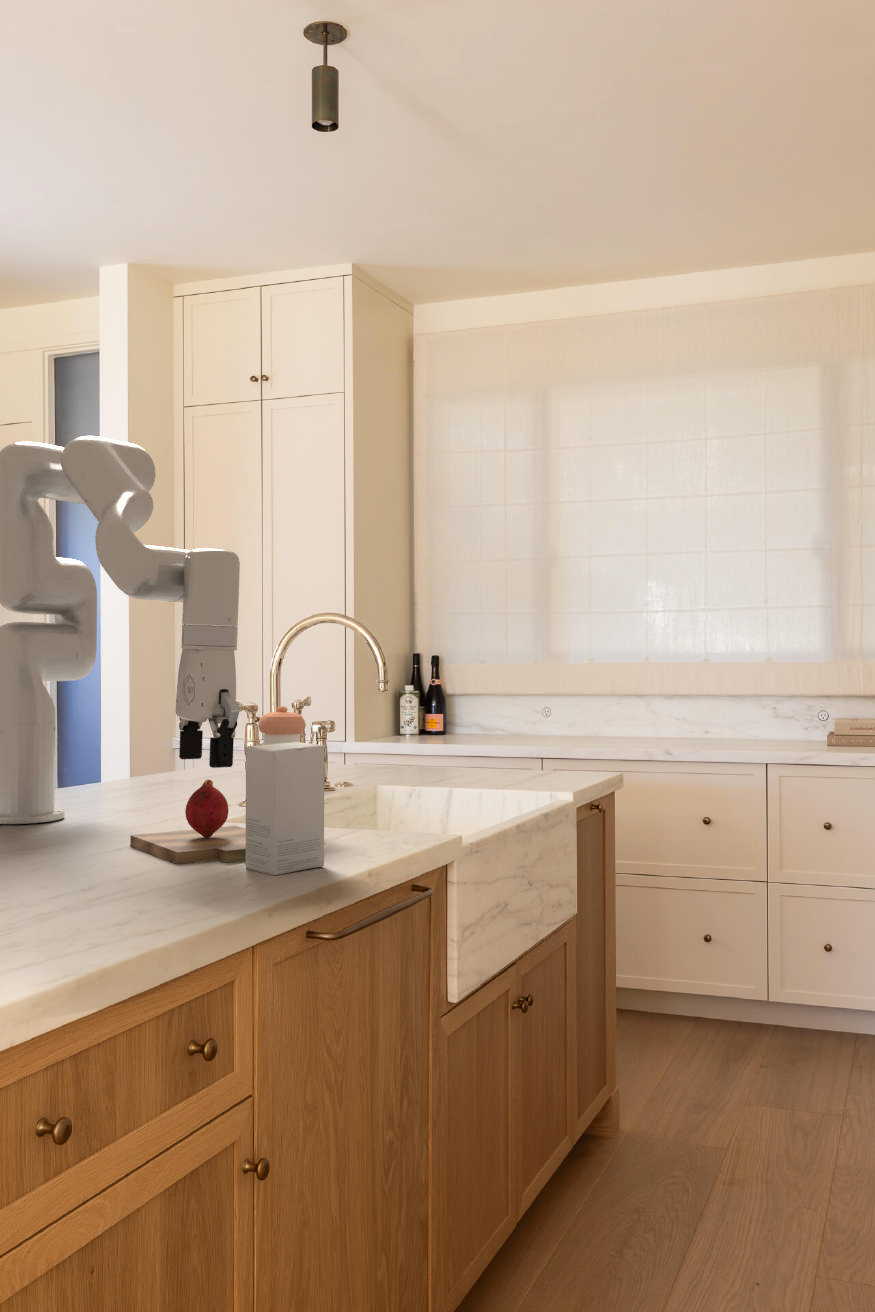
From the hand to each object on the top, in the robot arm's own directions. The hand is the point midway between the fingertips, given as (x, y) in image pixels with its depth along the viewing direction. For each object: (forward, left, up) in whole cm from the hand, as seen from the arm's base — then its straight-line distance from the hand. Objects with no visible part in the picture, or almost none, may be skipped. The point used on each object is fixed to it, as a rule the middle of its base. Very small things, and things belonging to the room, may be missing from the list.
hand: (205, 762), depth 152 cm
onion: (0, 0, -11) cm, 11 cm away
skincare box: (+19, +2, -12) cm, 22 cm away
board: (+2, 0, -12) cm, 12 cm away
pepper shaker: (-4, +14, -12) cm, 19 cm away
